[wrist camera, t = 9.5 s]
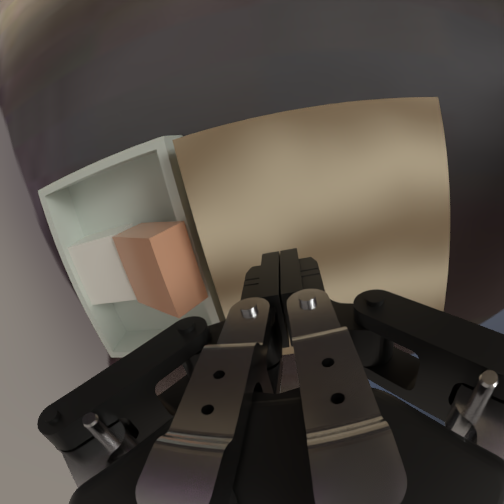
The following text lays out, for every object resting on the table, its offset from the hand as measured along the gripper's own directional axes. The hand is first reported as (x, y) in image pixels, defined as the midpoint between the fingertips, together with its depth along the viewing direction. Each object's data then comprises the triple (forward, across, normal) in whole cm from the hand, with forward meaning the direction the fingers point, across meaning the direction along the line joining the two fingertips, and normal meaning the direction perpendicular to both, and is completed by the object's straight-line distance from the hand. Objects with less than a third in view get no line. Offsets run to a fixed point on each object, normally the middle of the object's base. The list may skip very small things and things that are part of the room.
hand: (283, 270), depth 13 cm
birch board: (+8, -3, 0) cm, 8 cm away
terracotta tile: (+5, +7, 0) cm, 9 cm away
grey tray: (+8, +11, +1) cm, 13 cm away
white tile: (+5, +13, 0) cm, 14 cm away
